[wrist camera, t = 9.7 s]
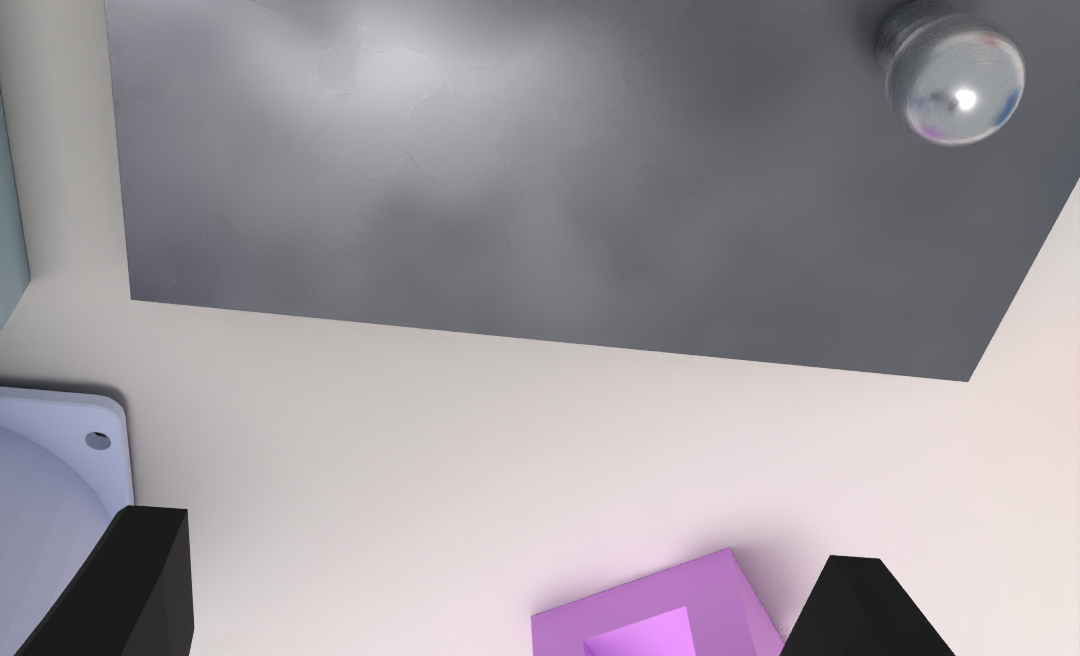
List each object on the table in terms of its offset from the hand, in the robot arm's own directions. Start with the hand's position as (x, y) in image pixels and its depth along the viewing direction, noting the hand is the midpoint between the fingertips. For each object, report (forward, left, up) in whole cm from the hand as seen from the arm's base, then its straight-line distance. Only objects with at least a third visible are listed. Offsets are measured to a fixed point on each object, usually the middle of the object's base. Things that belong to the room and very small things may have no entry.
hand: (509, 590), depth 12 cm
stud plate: (+4, -2, -9) cm, 10 cm away
